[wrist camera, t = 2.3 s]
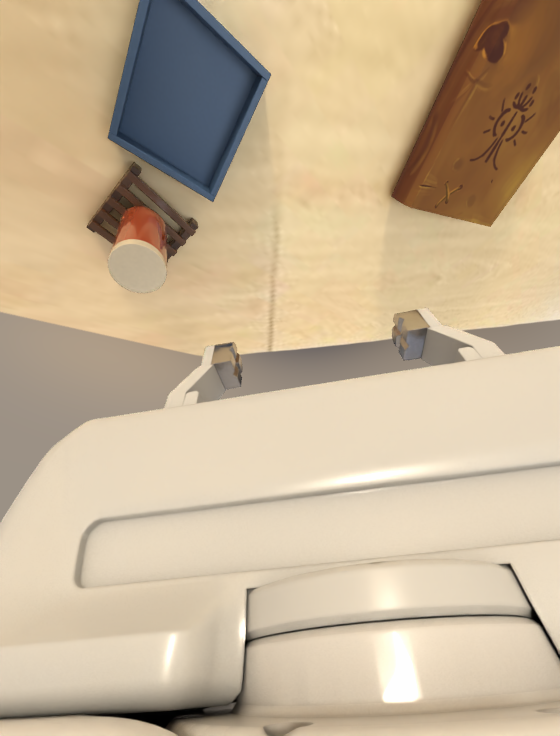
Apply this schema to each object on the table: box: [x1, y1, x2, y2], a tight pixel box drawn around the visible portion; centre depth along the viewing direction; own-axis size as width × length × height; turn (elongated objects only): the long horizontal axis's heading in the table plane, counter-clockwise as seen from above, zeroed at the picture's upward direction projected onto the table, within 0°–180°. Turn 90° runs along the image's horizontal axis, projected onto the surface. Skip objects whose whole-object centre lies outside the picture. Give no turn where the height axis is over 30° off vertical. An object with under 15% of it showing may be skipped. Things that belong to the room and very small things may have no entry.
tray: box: [108, 0, 271, 202], centre depth 32 cm, size 14×12×4 cm
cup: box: [108, 206, 167, 293], centre depth 36 cm, size 6×6×12 cm
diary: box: [392, 0, 560, 227], centre depth 41 cm, size 23×19×6 cm
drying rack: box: [87, 162, 198, 262], centre depth 40 cm, size 10×10×2 cm
